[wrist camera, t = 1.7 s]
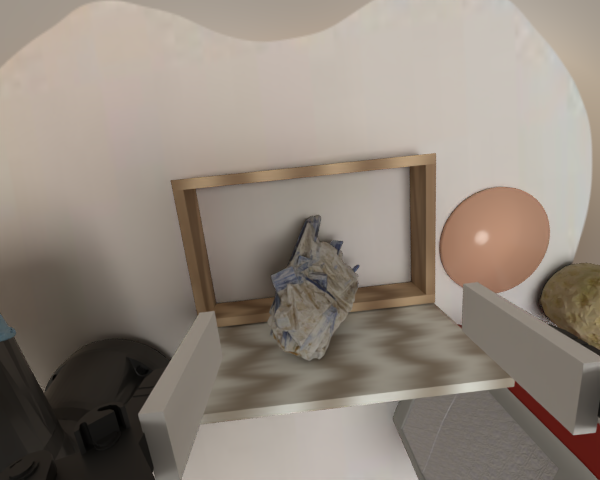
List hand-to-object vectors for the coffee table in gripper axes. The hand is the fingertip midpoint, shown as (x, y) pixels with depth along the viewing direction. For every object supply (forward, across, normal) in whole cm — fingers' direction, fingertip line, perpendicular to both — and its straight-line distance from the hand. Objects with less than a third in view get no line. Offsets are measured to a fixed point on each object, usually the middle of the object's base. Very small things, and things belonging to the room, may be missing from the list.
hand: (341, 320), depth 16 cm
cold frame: (+20, 0, 0) cm, 20 cm away
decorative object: (+21, +35, -11) cm, 42 cm away
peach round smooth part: (+20, +22, -3) cm, 30 cm away
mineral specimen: (+21, 0, 0) cm, 21 cm away
